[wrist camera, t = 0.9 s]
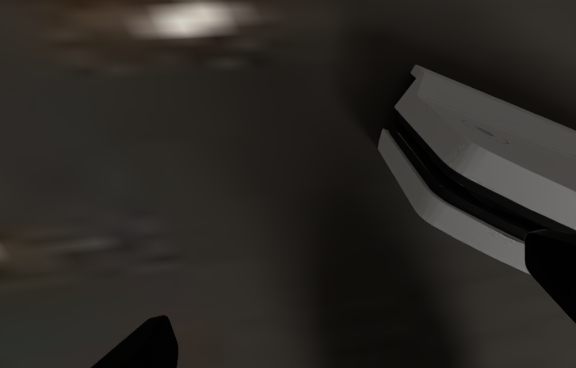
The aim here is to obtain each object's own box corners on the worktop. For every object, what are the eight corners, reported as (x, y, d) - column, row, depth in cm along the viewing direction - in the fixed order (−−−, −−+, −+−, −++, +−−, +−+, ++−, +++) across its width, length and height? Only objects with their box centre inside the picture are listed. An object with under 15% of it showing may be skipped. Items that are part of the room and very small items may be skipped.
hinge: (658, 164, 21) (901, 289, 12) (597, 223, 23) (765, 365, 14) (408, 61, 19) (484, 121, 10) (369, 136, 21) (404, 237, 13)
